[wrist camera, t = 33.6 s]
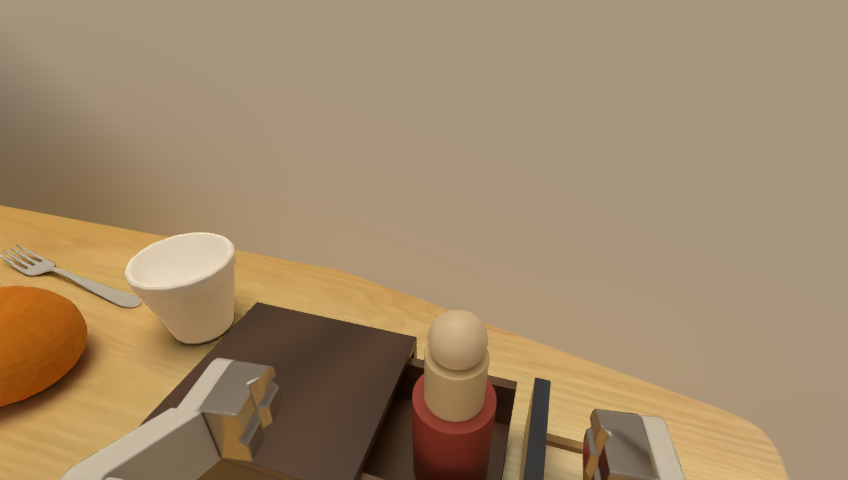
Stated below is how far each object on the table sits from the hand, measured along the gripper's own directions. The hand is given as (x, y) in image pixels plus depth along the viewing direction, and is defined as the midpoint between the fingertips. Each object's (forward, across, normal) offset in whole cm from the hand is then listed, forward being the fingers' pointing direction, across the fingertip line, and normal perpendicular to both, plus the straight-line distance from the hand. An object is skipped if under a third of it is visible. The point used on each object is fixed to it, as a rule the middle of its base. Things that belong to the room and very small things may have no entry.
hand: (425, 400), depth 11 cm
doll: (+12, 0, +23) cm, 26 cm away
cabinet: (+14, +12, +25) cm, 31 cm away
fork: (+30, +50, +25) cm, 63 cm away
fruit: (+16, +42, +25) cm, 51 cm away
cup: (+25, +29, +25) cm, 46 cm away
